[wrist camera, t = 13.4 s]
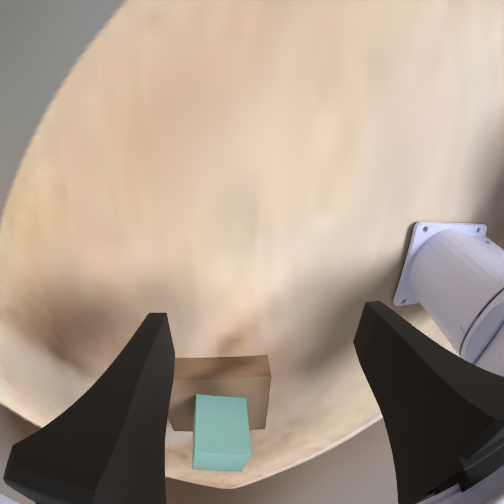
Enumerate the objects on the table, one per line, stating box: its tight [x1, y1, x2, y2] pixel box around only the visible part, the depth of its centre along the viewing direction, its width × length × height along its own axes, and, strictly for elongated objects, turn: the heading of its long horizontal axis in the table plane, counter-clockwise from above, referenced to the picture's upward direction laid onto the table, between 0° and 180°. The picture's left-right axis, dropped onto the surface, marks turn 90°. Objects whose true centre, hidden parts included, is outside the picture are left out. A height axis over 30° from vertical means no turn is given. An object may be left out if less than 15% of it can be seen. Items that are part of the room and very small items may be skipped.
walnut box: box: [168, 355, 271, 431], centre depth 27 cm, size 10×10×3 cm
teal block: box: [192, 394, 252, 471], centre depth 23 cm, size 4×4×6 cm
